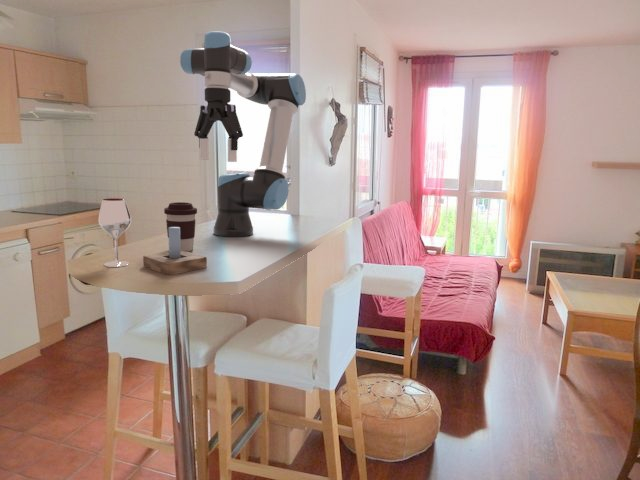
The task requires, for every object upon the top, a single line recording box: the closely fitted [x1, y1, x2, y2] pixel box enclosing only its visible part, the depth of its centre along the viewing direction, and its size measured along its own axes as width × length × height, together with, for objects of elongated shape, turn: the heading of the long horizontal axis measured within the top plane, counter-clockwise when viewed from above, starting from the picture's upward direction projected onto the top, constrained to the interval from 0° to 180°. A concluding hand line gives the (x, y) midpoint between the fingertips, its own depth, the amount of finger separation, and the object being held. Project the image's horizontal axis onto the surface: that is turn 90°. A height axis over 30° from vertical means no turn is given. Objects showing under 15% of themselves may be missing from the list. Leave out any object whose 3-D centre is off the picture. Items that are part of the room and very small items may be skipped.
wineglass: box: [98, 197, 132, 268], centre depth 131 cm, size 8×8×18 cm
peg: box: [168, 227, 181, 259], centre depth 131 cm, size 3×3×11 cm
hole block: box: [142, 250, 208, 276], centre depth 132 cm, size 12×12×3 cm
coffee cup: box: [163, 201, 198, 252], centre depth 153 cm, size 10×10×15 cm
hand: (217, 160), depth 146 cm, fingers open, 13 cm apart
